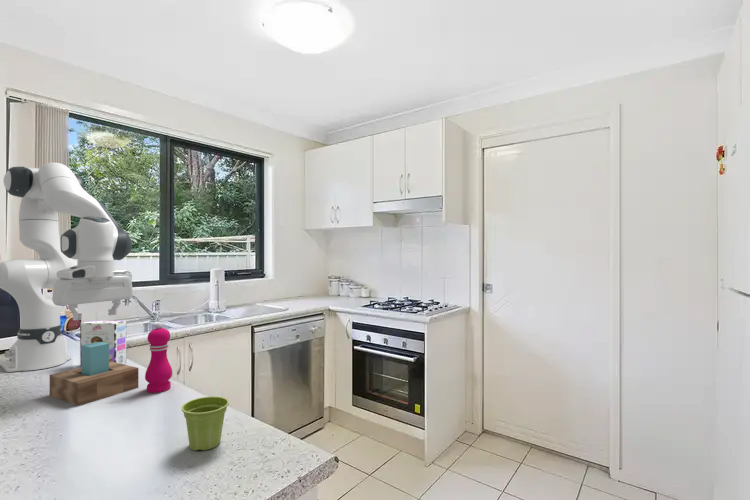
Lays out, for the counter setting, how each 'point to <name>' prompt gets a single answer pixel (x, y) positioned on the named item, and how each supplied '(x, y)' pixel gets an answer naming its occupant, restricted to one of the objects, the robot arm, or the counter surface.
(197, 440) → the plant pot
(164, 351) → the pepper mill
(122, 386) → the wooden holder
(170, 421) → the counter surface
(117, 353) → the candy box
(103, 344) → the teal rectangular block
